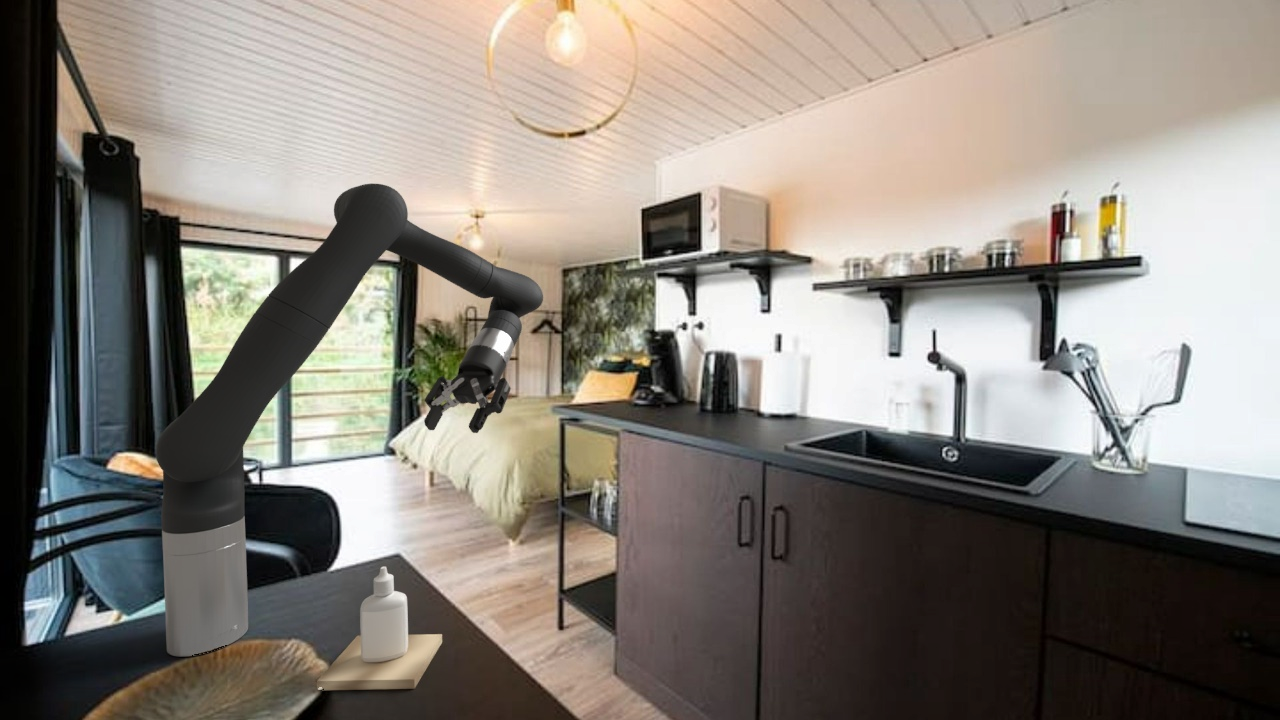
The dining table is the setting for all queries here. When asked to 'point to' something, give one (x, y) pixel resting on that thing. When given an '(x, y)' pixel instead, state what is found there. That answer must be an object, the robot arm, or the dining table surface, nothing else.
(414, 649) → the oak board
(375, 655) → the eye dropper bottle
